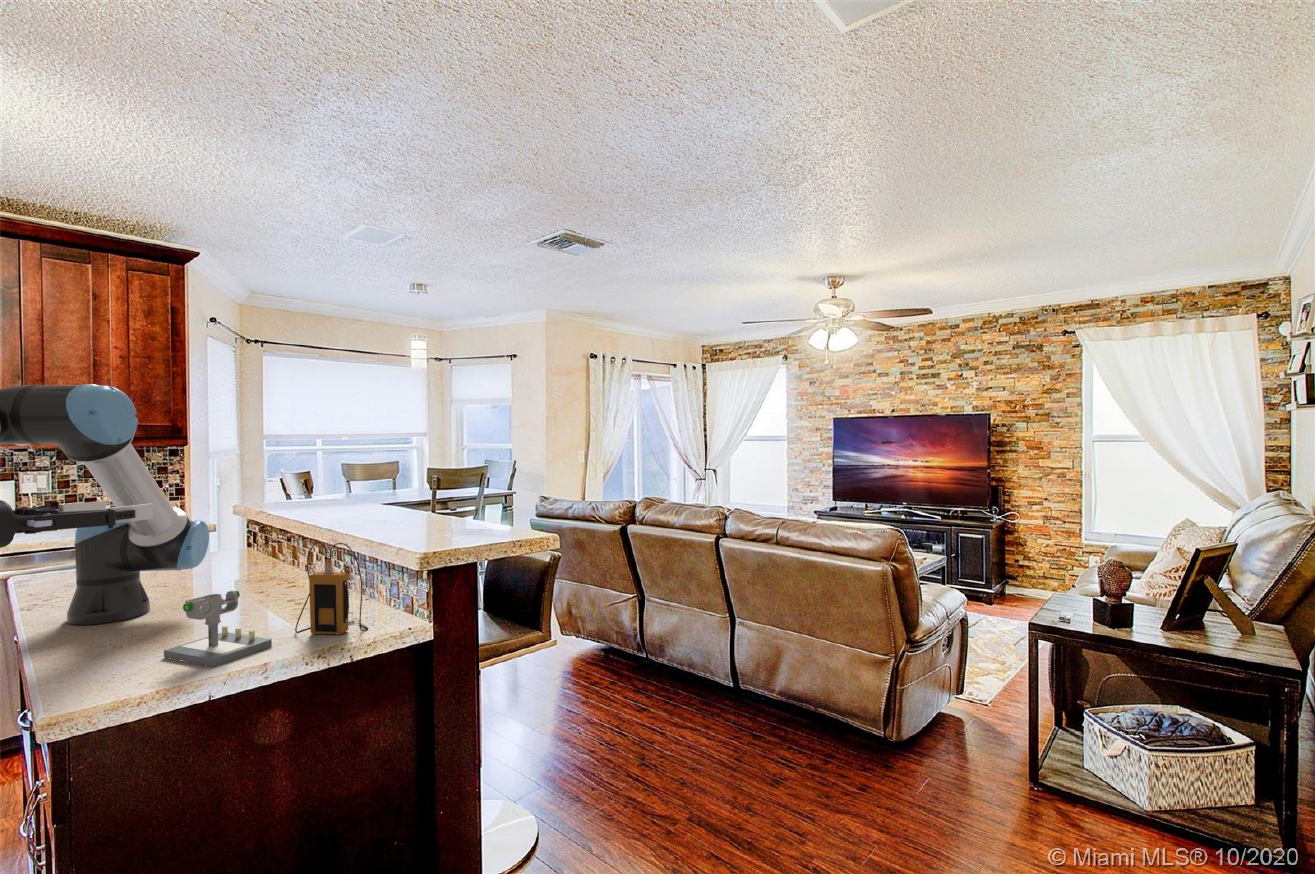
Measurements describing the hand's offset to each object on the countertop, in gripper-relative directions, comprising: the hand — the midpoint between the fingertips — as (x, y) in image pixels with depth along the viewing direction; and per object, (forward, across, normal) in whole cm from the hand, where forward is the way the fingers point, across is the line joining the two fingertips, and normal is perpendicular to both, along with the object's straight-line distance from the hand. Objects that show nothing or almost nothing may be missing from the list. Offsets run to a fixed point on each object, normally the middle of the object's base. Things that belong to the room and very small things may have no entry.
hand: (128, 509), depth 118 cm
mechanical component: (+12, +5, -29) cm, 31 cm away
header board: (+13, +5, -30) cm, 33 cm away
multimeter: (+33, +15, -30) cm, 47 cm away
